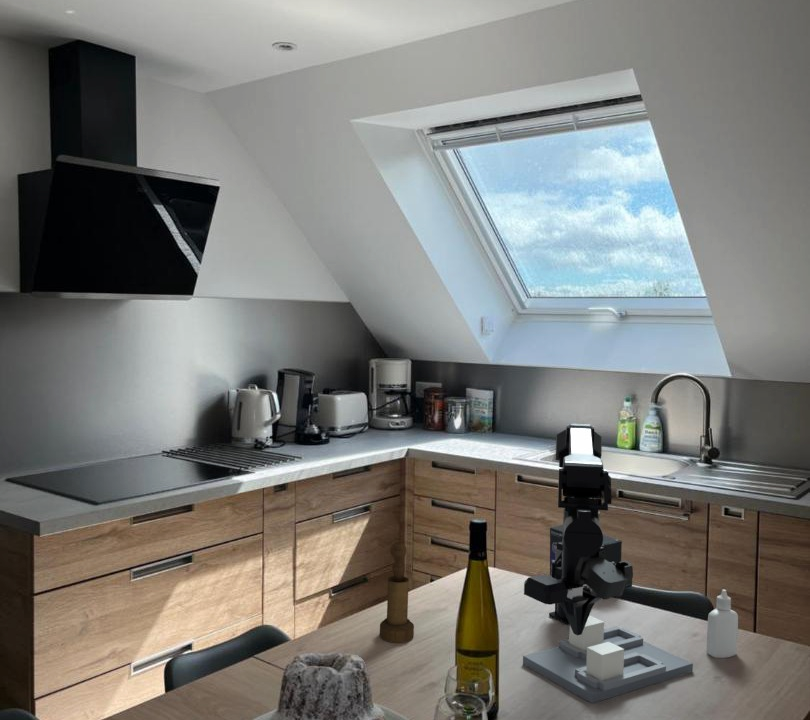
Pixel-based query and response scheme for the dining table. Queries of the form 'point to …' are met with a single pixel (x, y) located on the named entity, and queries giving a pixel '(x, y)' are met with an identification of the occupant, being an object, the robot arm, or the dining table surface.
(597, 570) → the robot arm
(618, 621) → the dining table surface
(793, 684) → the dining table surface
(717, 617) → the eye dropper bottle
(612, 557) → the box
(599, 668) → the tab
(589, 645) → the tab
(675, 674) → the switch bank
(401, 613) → the mortar and pestle
